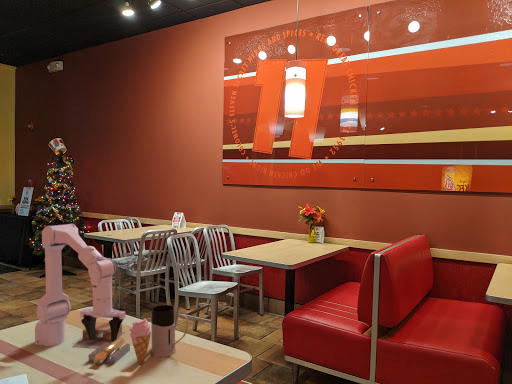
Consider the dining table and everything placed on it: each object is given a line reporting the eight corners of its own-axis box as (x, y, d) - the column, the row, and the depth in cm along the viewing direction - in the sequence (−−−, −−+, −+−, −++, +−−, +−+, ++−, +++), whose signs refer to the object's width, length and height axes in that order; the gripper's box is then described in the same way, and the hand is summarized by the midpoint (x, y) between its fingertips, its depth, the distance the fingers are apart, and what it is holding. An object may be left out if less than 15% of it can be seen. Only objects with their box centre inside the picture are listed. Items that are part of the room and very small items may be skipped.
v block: (88, 364, 125) (88, 354, 125) (105, 351, 135) (105, 342, 135) (114, 366, 124) (114, 356, 124) (129, 353, 133) (129, 343, 133)
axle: (93, 363, 122) (93, 354, 122) (116, 345, 136) (116, 336, 136) (102, 364, 122) (102, 355, 122) (124, 345, 136) (124, 337, 136)
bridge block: (71, 349, 136) (71, 334, 136) (96, 333, 151) (96, 319, 151) (103, 351, 135) (103, 336, 134) (125, 335, 149) (124, 321, 149)
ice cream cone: (144, 370, 121) (143, 322, 121) (126, 368, 122) (125, 321, 122) (154, 361, 127) (153, 315, 127) (136, 359, 129) (136, 314, 128)
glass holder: (160, 344, 140) (159, 303, 140) (194, 350, 135) (194, 307, 135) (145, 354, 132) (144, 310, 132) (181, 361, 127) (180, 315, 127)
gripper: (74, 300, 122) (74, 343, 123) (117, 302, 120) (117, 346, 120) (87, 293, 129) (88, 334, 130) (128, 295, 127) (128, 337, 127)
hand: (103, 339), depth 125 cm, fingers open, 7 cm apart
